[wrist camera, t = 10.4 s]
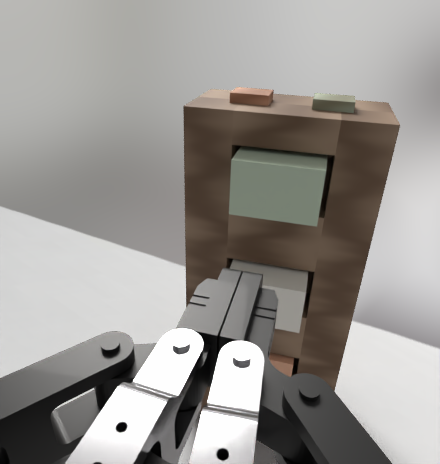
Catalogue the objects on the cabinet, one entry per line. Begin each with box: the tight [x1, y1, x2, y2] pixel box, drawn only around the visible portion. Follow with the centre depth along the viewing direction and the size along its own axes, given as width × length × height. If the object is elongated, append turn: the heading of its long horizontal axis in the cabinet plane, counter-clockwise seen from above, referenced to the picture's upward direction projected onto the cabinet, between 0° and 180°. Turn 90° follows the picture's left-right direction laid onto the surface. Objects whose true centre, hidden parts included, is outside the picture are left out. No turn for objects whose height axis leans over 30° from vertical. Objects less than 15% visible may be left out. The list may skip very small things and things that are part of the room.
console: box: [184, 87, 400, 412], centre depth 31 cm, size 12×6×28 cm, turn 76°
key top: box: [229, 146, 327, 227], centre depth 24 cm, size 5×3×3 cm, turn 76°
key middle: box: [230, 259, 308, 333], centre depth 28 cm, size 5×3×3 cm, turn 76°
